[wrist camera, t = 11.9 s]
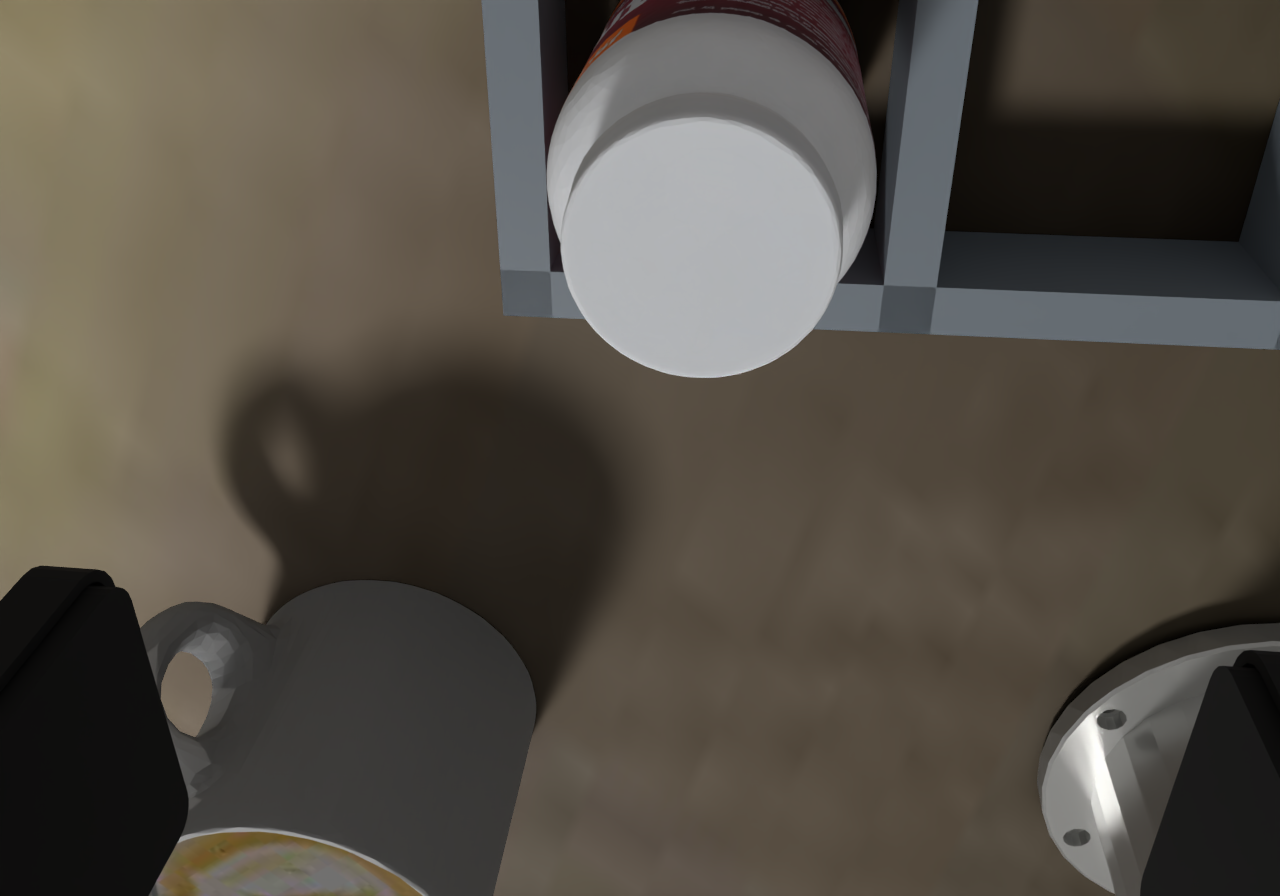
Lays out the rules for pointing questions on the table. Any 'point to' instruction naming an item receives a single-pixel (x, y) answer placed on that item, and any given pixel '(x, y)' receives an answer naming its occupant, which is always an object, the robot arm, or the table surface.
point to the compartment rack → (910, 216)
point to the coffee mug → (347, 746)
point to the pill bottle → (712, 179)
